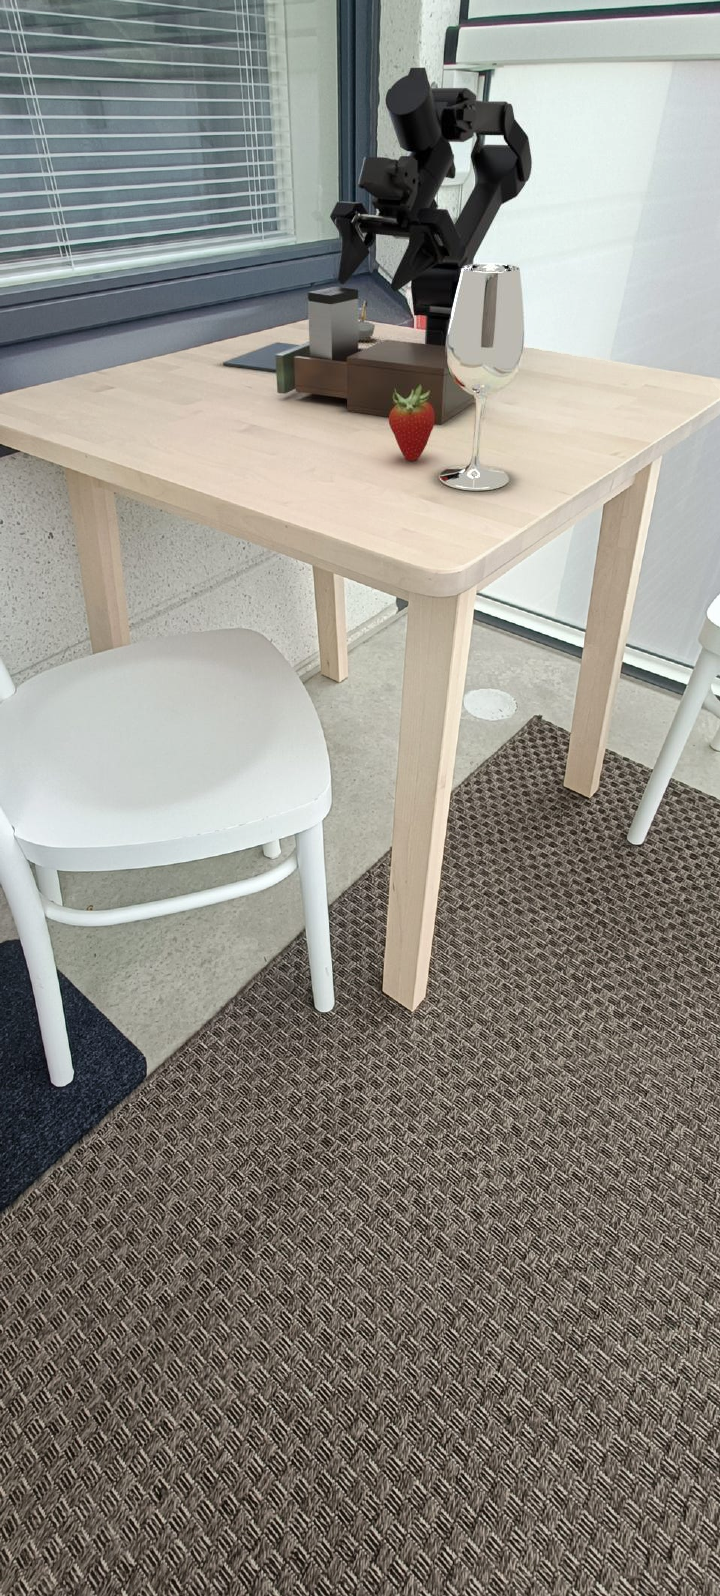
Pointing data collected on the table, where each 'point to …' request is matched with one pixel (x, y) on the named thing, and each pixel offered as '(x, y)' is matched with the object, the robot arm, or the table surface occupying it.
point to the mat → (260, 357)
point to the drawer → (310, 373)
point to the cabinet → (403, 379)
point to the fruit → (412, 423)
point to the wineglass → (484, 353)
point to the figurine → (364, 325)
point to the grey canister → (333, 323)
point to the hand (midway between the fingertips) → (365, 285)
